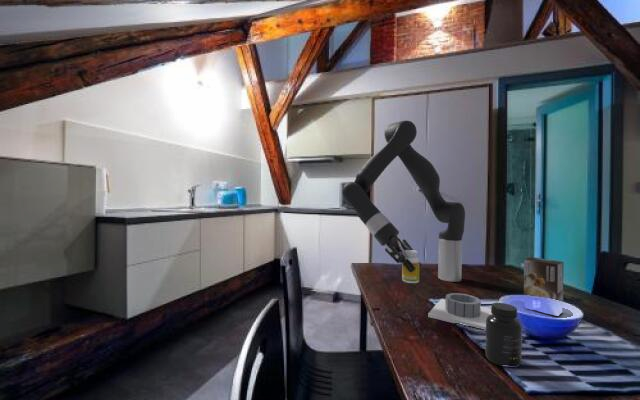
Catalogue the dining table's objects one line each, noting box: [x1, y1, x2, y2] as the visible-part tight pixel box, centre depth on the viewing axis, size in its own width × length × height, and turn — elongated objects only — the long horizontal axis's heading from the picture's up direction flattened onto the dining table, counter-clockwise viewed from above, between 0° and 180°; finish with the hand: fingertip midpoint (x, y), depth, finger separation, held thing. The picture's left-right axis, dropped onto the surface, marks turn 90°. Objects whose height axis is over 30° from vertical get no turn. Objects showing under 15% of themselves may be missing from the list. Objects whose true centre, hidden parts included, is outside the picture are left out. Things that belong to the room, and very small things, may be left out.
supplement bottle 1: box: [401, 249, 421, 284], centre depth 97 cm, size 5×5×10 cm
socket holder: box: [427, 292, 492, 331], centre depth 91 cm, size 16×16×5 cm
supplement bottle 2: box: [484, 302, 523, 367], centre depth 66 cm, size 7×7×12 cm
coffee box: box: [523, 256, 564, 302], centre depth 95 cm, size 9×6×16 cm
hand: (416, 268), depth 96 cm, fingers closed on supplement bottle 1, 5 cm apart
